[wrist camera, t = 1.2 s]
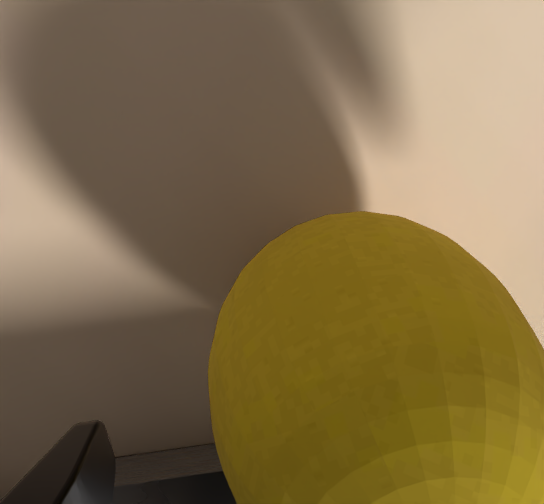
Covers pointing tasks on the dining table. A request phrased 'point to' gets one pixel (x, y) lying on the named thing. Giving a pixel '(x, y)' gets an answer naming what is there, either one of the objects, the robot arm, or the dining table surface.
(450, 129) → the dining table surface
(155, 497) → the teal tray on stand
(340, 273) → the lemon
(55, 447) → the robot arm
